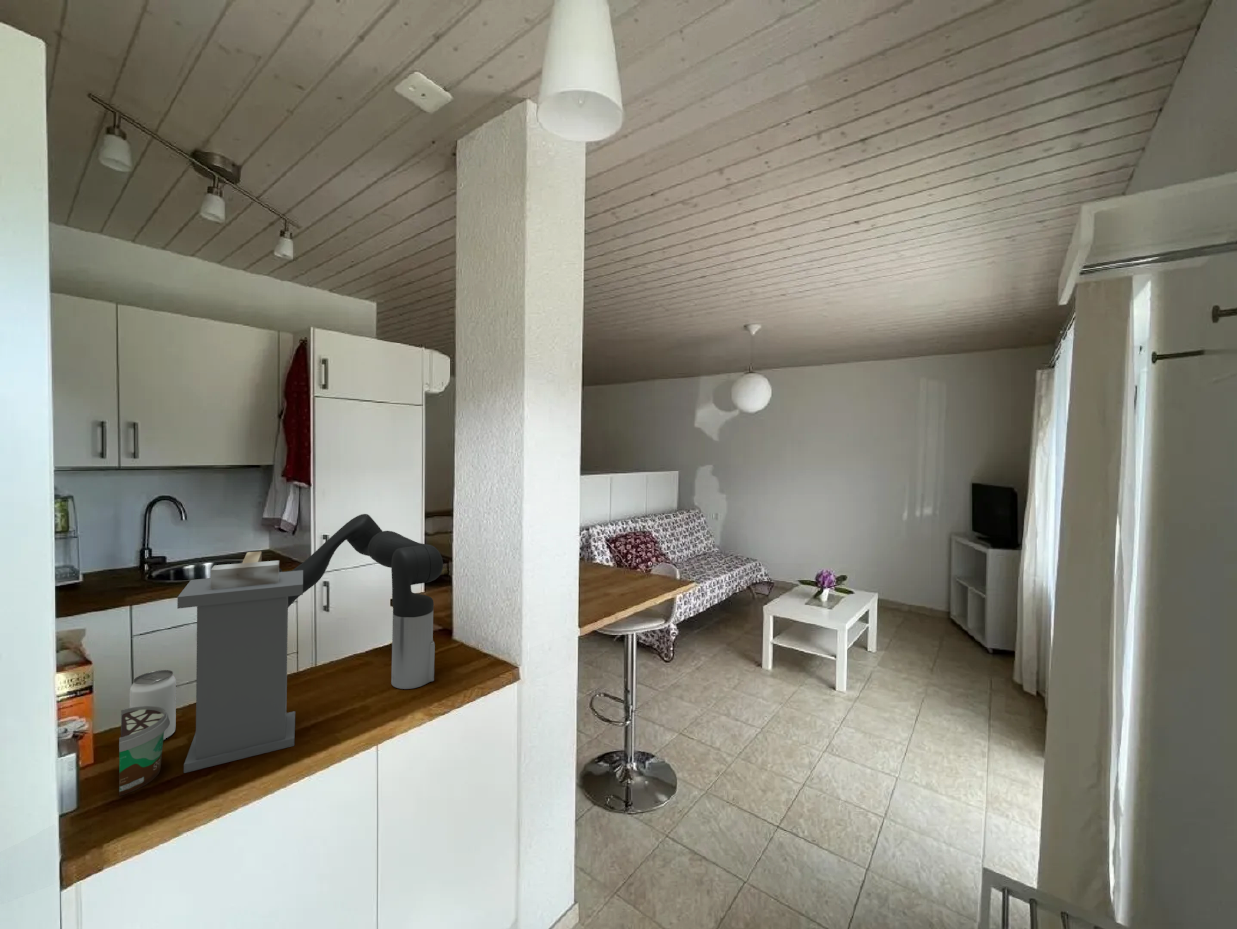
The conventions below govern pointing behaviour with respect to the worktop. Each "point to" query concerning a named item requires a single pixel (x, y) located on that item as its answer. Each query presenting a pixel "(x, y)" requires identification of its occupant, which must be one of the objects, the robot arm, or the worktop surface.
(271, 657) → the stand
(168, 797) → the worktop surface
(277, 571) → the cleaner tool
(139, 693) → the can
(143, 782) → the food container
